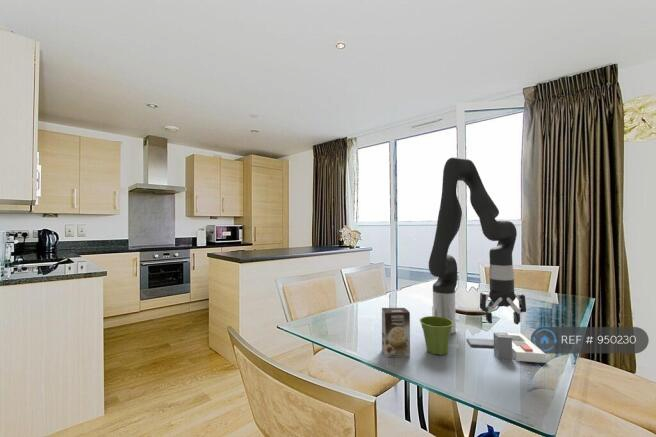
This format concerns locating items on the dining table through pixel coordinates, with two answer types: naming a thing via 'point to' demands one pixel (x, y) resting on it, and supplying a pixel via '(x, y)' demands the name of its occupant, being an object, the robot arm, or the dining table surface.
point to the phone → (480, 342)
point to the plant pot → (436, 333)
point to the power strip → (525, 349)
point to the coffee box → (396, 332)
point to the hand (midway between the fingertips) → (503, 323)
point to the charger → (503, 346)
